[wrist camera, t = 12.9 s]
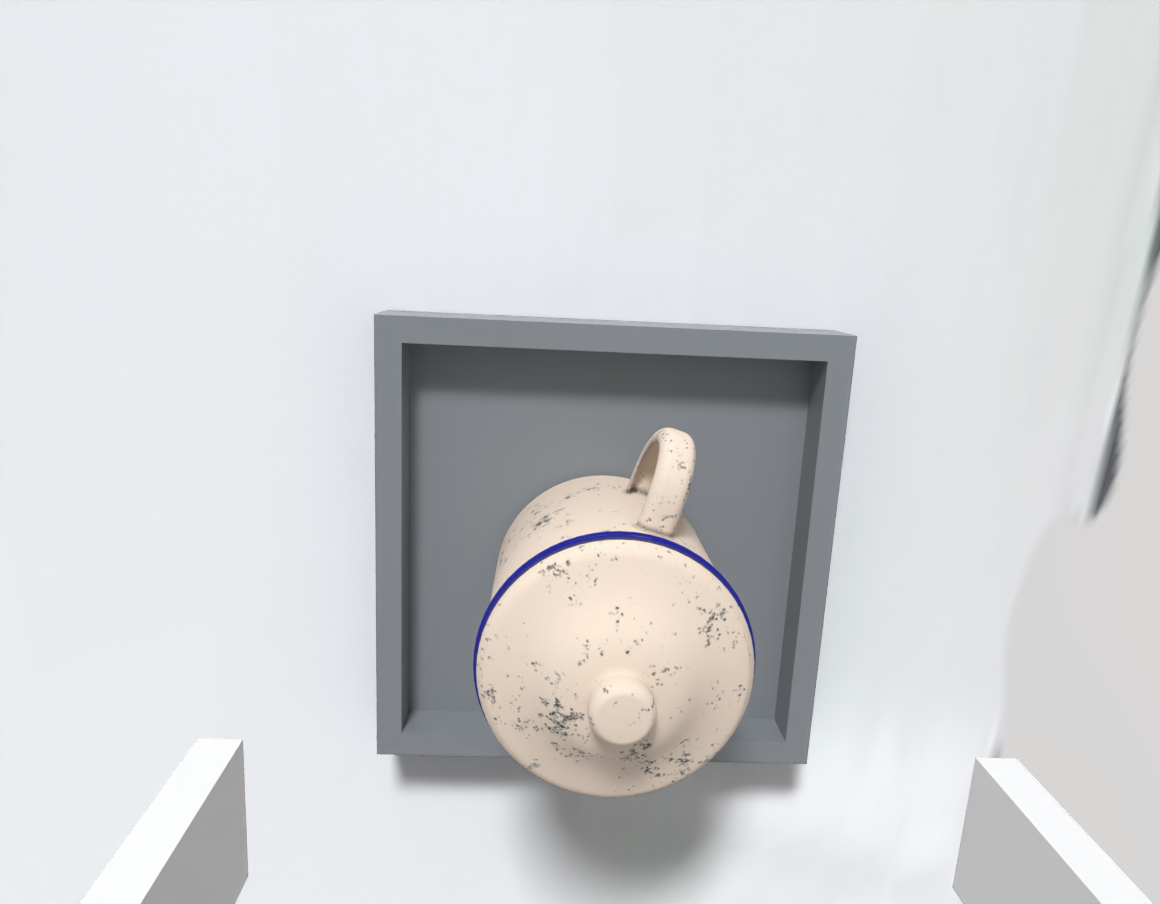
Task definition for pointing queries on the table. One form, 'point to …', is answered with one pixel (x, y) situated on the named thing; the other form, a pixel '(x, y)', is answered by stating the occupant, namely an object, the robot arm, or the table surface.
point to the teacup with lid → (613, 634)
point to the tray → (592, 448)
